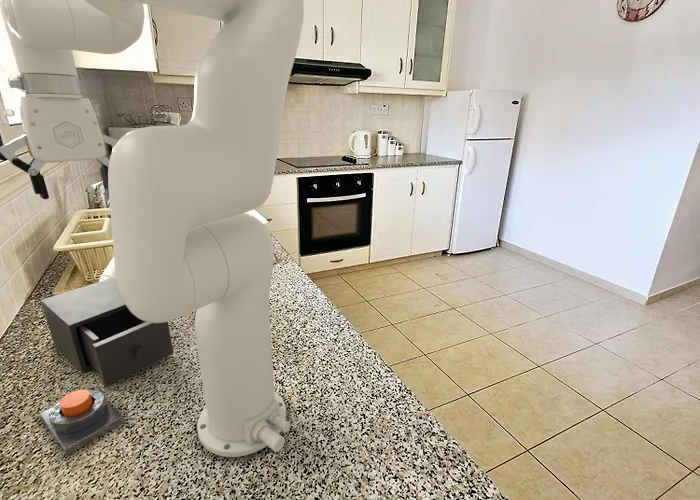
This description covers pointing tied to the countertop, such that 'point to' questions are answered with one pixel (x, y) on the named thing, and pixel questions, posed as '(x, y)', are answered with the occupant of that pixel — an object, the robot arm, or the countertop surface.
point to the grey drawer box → (80, 315)
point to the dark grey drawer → (123, 345)
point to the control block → (81, 423)
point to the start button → (76, 403)
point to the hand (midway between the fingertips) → (78, 193)
